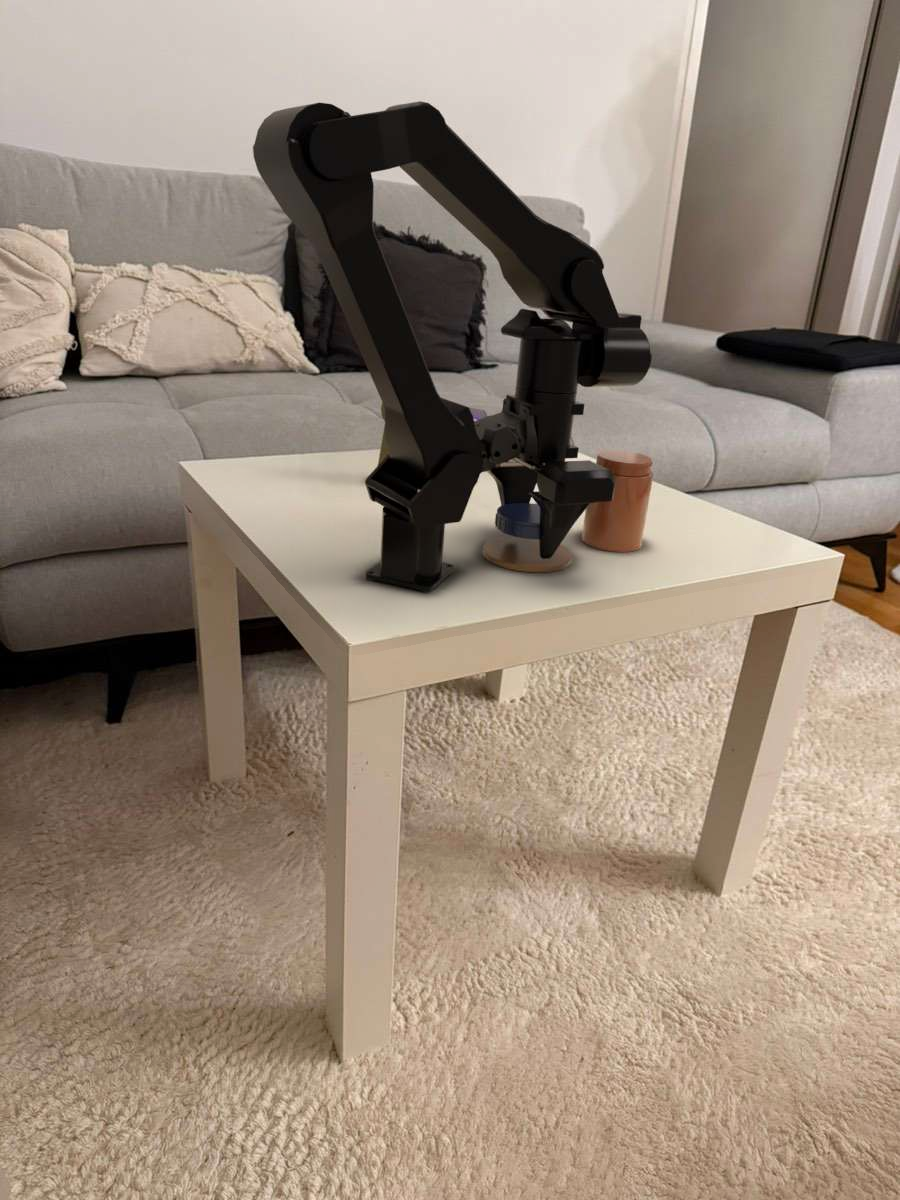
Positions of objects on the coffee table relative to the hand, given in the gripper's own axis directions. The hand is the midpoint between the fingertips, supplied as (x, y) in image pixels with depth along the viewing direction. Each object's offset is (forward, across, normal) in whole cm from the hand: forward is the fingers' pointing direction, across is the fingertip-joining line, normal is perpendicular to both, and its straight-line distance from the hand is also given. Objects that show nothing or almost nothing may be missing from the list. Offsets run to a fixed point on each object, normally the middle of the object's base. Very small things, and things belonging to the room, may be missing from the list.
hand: (528, 545), depth 85 cm
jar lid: (-3, 0, 0) cm, 3 cm away
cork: (+1, -28, -4) cm, 28 cm away
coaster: (+1, 0, 0) cm, 1 cm away
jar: (+1, -2, +12) cm, 12 cm away
